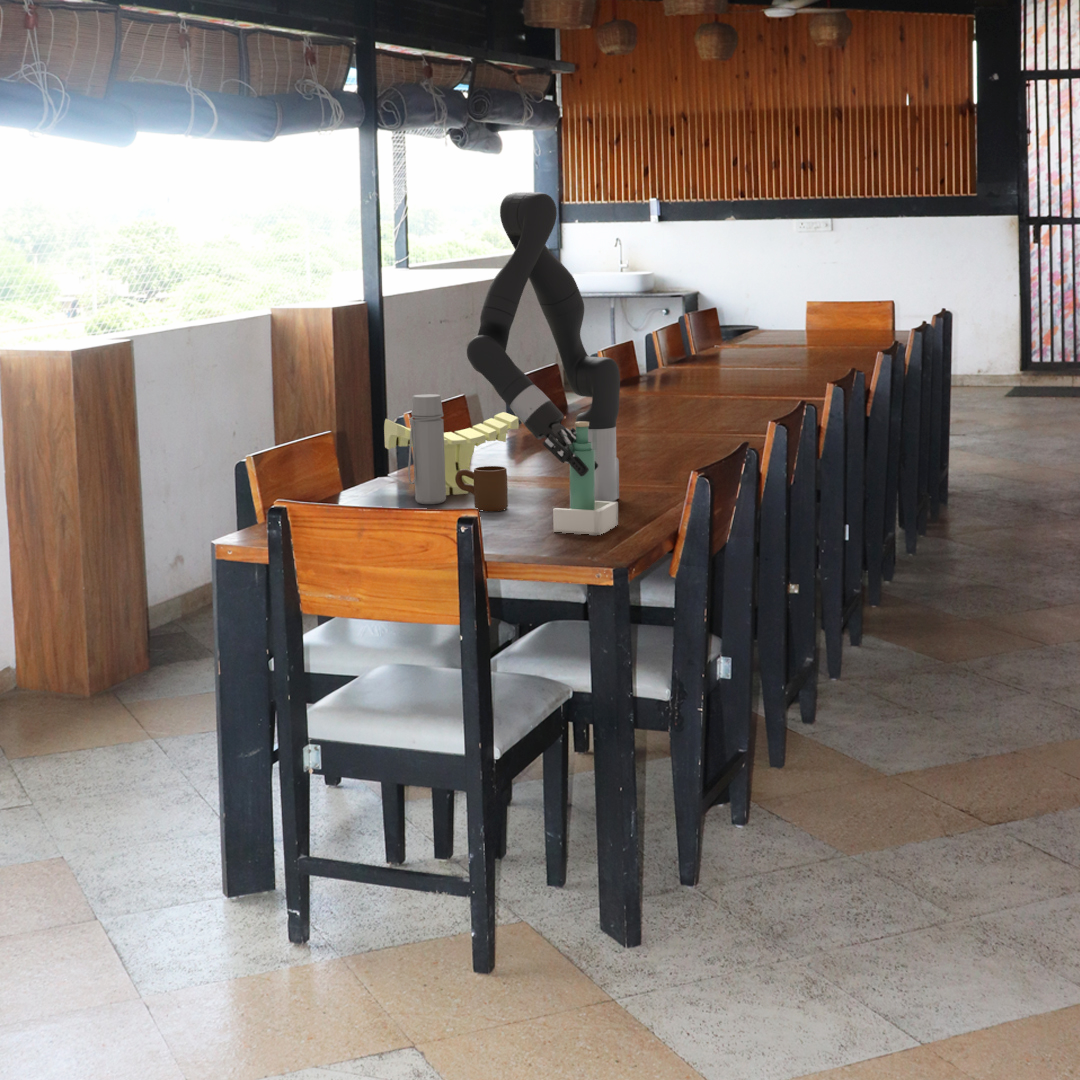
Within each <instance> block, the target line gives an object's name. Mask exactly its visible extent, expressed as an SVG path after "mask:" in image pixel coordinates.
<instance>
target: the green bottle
mask: <svg viewBox="0 0 1080 1080" xmlns="http://www.w3.org/2000/svg"><path fill="white" fill-rule="evenodd" d="M588 426H589V422H586V421H579V422H576V421H575V422H574V427H575V430H576V442H573V443H572V444H573V450H574V452H575V453H576V455H577V456H576V457H579V458H580V459H581V460H582V462H583V463H584V464H585V465H586V466H587V467H588V468H589V471H588V472H587V473H586V474H585V475H584V476H580V475H579V474H578V473H577V472H576V471H575V469H574V468H573V467H572V466H571V465H570V464H569V509H582V510H595V450H594V449H592V443H591V442H588Z"/></svg>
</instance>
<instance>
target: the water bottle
mask: <svg viewBox="0 0 1080 1080" xmlns="http://www.w3.org/2000/svg"><path fill="white" fill-rule="evenodd" d="M411 398H412V399H411V417H409V419H408V420H409V424H410V428H411V432H410V446H409V450H408V463H407V464H408V465H407V477H408V482H409V484H410V485H414V492H415V493H414V495H415V496H414V498H415V501H416V502H417V503H418V504H420V505H438V504H442V503H444V502H445V501H446V500H447V495H446V484H445V454H444V433H445V432H444V429H445V428H444V419H443V417H444V415H445V414H444V411H443V405H442V403H443V402H442V396H441V394H435V393H431V394H426V393H425V394H424V393H423V394H415V395H412V397H411ZM411 444H412V445H413V447H411ZM411 457H412V458H413V459H412V458H411ZM411 459H412V461H413V476H414V478H413V480H412V481H411Z"/></svg>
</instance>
